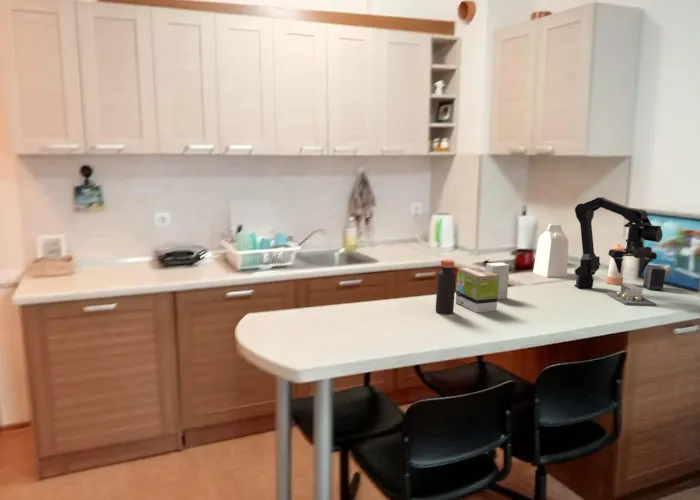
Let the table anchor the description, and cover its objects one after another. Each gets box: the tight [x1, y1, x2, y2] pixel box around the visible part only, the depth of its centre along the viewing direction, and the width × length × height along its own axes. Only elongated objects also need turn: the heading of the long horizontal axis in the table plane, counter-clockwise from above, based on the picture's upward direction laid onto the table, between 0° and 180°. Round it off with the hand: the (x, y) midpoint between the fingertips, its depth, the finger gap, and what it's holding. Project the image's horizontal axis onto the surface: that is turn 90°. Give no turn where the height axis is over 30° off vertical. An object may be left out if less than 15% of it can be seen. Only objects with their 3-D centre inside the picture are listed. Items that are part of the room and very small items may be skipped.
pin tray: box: [606, 291, 657, 307], centre depth 257 cm, size 13×18×3 cm
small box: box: [642, 264, 666, 292], centre depth 282 cm, size 11×6×10 cm, turn 168°
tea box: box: [455, 266, 499, 313], centre depth 235 cm, size 15×10×15 cm
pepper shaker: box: [605, 244, 626, 286], centre depth 289 cm, size 7×7×19 cm
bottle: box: [435, 259, 457, 315], centre depth 226 cm, size 7×7×20 cm
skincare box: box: [485, 261, 510, 300], centre depth 251 cm, size 8×6×15 cm
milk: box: [532, 223, 569, 278], centre depth 304 cm, size 12×12×26 cm
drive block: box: [620, 283, 644, 301], centre depth 257 cm, size 5×9×5 cm, turn 0°
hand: (629, 273), depth 260 cm, fingers open, 9 cm apart
